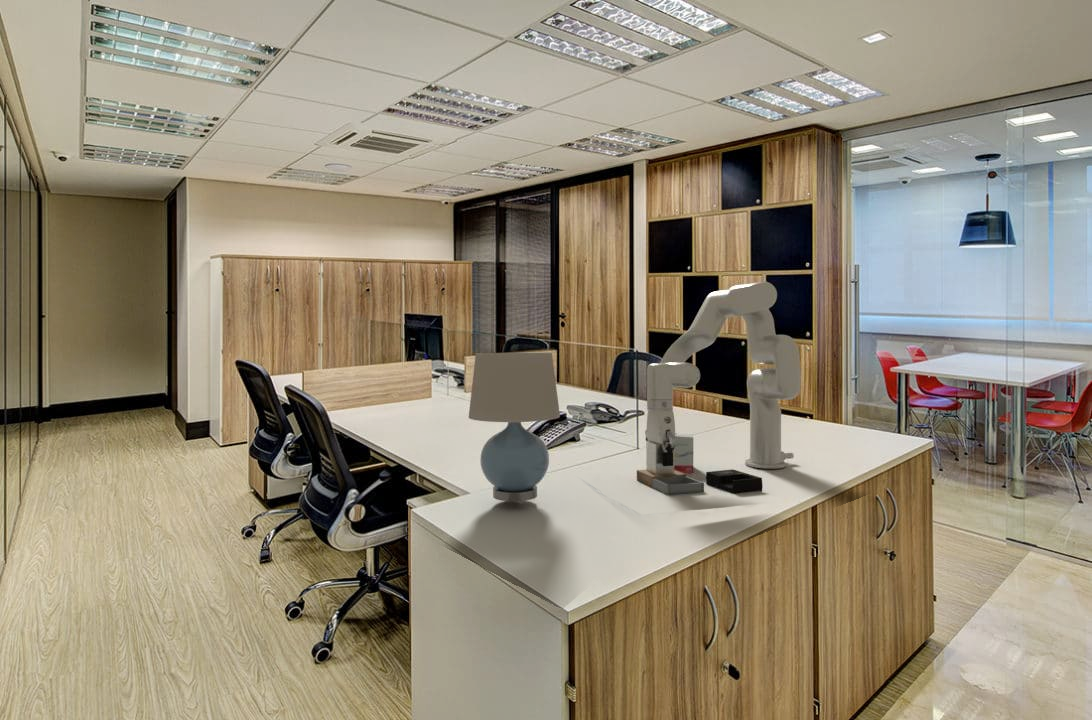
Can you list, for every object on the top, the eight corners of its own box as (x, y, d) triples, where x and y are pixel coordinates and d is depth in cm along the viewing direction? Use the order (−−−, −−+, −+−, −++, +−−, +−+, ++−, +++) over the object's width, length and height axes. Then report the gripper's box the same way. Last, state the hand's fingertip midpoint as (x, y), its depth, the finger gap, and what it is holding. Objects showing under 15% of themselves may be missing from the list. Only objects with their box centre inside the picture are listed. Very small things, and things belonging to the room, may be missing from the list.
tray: (685, 484, 178) (685, 475, 178) (704, 491, 169) (704, 482, 169) (651, 487, 175) (651, 478, 175) (668, 495, 166) (668, 485, 166)
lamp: (527, 512, 149) (526, 353, 148) (450, 500, 162) (448, 353, 161) (577, 492, 170) (576, 352, 169) (504, 482, 183) (503, 352, 182)
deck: (669, 477, 187) (669, 467, 187) (686, 484, 178) (686, 474, 178) (636, 480, 184) (636, 470, 184) (651, 487, 175) (651, 476, 175)
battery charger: (705, 485, 178) (705, 471, 178) (732, 482, 182) (732, 469, 182) (733, 495, 166) (733, 480, 166) (762, 492, 170) (762, 477, 170)
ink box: (693, 474, 192) (693, 436, 192) (666, 473, 194) (665, 436, 194) (692, 468, 201) (692, 432, 201) (666, 467, 203) (666, 432, 202)
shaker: (664, 469, 185) (664, 436, 185) (674, 473, 179) (674, 439, 179) (646, 470, 183) (646, 438, 183) (655, 474, 178) (655, 440, 177)
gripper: (686, 407, 174) (686, 467, 174) (657, 402, 190) (657, 457, 191) (662, 408, 172) (662, 469, 172) (635, 403, 188) (635, 458, 188)
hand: (659, 462), depth 181 cm, fingers open, 9 cm apart
